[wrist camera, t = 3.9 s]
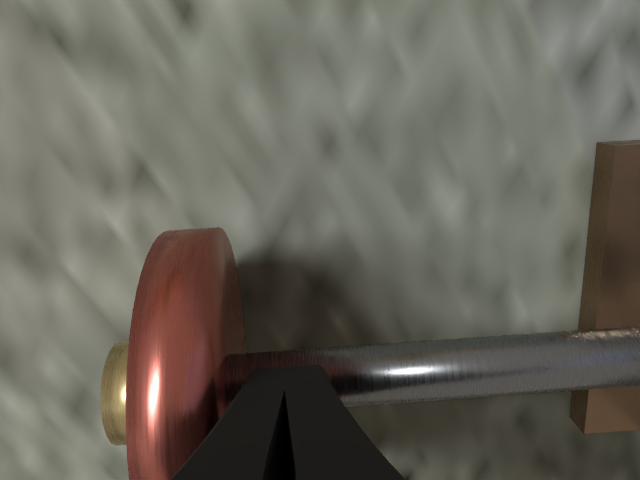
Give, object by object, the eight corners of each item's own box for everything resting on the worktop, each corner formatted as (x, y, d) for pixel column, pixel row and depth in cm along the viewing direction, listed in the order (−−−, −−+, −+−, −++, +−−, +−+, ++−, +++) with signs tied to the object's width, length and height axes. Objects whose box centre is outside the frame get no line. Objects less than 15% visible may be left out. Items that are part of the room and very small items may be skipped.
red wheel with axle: (709, 169, 13) (1070, 242, 7) (673, 391, 15) (935, 603, 9) (140, 203, 13) (-2, 313, 7) (174, 428, 15) (88, 678, 8)
